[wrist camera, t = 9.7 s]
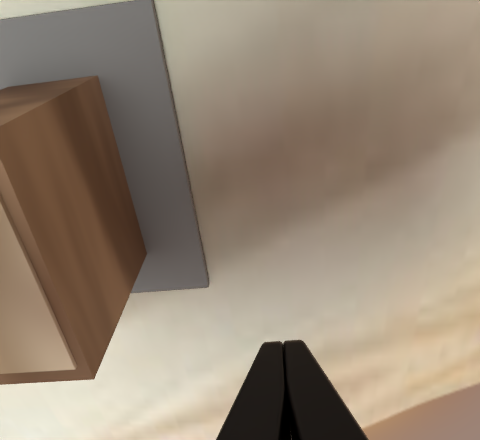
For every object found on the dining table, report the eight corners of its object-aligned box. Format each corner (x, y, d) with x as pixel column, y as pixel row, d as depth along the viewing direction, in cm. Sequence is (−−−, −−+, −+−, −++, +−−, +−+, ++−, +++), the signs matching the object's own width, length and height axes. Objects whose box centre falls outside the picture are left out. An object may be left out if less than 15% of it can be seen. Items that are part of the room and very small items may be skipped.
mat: (152, -2, 16) (150, -2, 16) (209, 282, 23) (208, 287, 23) (-211, 49, 18) (-220, 51, 17) (-59, 303, 24) (-63, 307, 24)
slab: (97, 75, 17) (-15, 133, 10) (147, 253, 22) (92, 382, 14) (8, 86, 18) (-161, 150, 11) (74, 260, 22) (-15, 388, 15)
